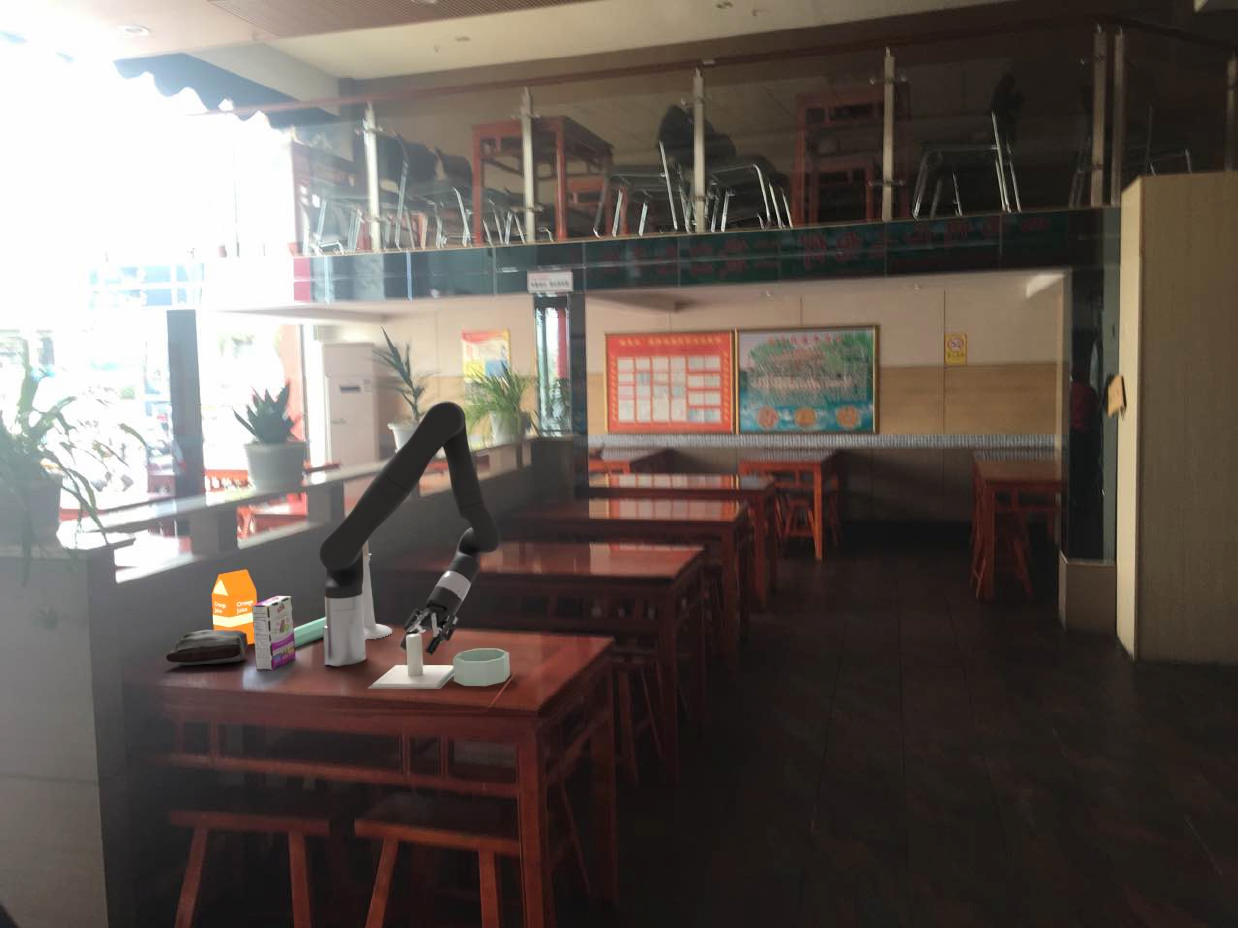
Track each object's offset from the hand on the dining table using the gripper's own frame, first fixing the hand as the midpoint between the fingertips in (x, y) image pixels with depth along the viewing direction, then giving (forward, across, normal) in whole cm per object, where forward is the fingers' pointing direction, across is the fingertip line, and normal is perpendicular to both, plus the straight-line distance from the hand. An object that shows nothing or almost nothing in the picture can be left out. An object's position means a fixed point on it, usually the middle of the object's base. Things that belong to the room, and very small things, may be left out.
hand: (415, 650), depth 230 cm
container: (-1, -55, +11) cm, 56 cm away
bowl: (0, +14, +10) cm, 17 cm away
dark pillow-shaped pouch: (+18, -57, -8) cm, 60 cm away
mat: (+5, 0, +5) cm, 7 cm away
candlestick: (-11, -46, +21) cm, 52 cm away
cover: (+5, 0, +4) cm, 6 cm away
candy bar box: (+12, -42, -2) cm, 44 cm away
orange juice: (+7, -70, +3) cm, 71 cm away
